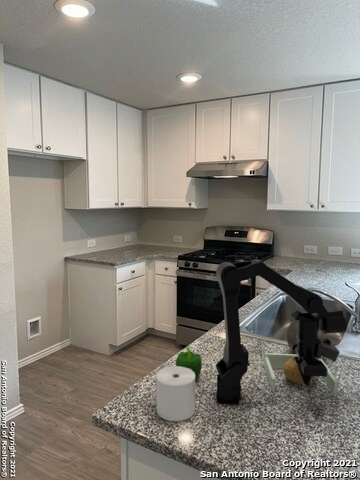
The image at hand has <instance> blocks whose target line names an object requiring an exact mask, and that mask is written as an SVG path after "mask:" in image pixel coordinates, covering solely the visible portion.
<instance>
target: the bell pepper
mask: <svg viewBox="0 0 360 480" xmlns="http://www.w3.org/2000/svg"><path fill="white" fill-rule="evenodd" d="M185 349H186V352H183V351H181V352H179V353H178V355H177V357H176V359H175V366H180V367H185V368H189V369H191V370H192V371H193V372H194V373H195V382H196V381H197V380H198V379H199V378H200V375H201V371H202V366H203V364H202V363H203V362H202V357H201V354H199V353H195V352H193V351H191V348H190V346H186V347H185Z"/></svg>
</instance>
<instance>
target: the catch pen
mask: <svg viewBox="0 0 360 480" xmlns="http://www.w3.org/2000/svg"><path fill="white" fill-rule="evenodd" d="M296 355H297V354H294V353H271V352H264V361H263V362H264V363H263V364H264V365H263V367H264V370H265V373H266V377H267V380H268V383H269V386H270V387H269V388H270V390H271V392H273V393H275V392H276V386H277V385H276V382H277V381H276V376H275V374H274V371H273V369H275V370H278V369H279V370H283V367H284V364H285V362H286V361H287V360H289V359H290V358H292V357H294V356H296ZM317 359H318V360H321V361H322V362H323V363H324V365H325V366H326V368H327V369H328V374H327V376H326V377H322V380H323V381H324V382H325V383H326V385H327V388H328V389H330V392H331V393H332V395H333V396H338V392H339V391H338V389H339V382H338V380H337V379H336V377H335V376H334V374H333V373H332V372H331V370H330V369H329V368H328V366H327V365H326V363H325V362H324V360H323V356H321V358H317Z"/></svg>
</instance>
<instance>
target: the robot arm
mask: <svg viewBox="0 0 360 480" xmlns="http://www.w3.org/2000/svg"><path fill="white" fill-rule="evenodd" d="M215 273H216V278H217V281H218V284H219V288H220V292H221V294H222V302H223V303H222V304H223V315H224V317H223V318H224V330H225V343H224V347H223V354H222V358H221V359H220V360H219V361H218V362H217V363H216V364H215V368H216V370H217V373H218V374H216V390H215V391H216V393H215V394H216V397H215V398H216V401H215V403H216V404H224V405H225V404H226V405H240V400H241V398H242V383H241V381H242V379H243V376H245V374H247V372H248V370H249V369H248V368H249V367H251V365H250V362H249V355H250V353H249V350H248V349H247V347H246V345H244V343H242V341H241V326H240V325H241V324H240V314H239V313H240V311H239V297H238V296H239V293H240V289H241V283H242V282H243V281H244V282H245V281H248V280H250V279H253V278H255V277H261V278H262V279H263V280H265V281H266V282H268V283H270V284H272V286H274V287H275V288H277V289H279V290H280V291H282V292H283V293H285V294H286V295H287V296H288V297H289V298H290V299H291V300H292V301H293V302H294V303H295V304H296V305H297V306H298V307H300V308H301V309H303V311H304V312H301V310H298V309H296V310H295V311H294V312H293V313H291V314H290V317H291V319H293V320H294V319H295V320H298V334H296V338H297V340H293V341H292V342H291V343H290V347H289V348H290V349H289V350H290V351H291V353H293V352H294V349H295V350H296V353H297V357H294V358H295V361H296V363H297V366H298V369H299V371H300V374H301V377H302V379H303V382H304V386H309V384H310V382H311V381H312V380H311V377H312V376H315V377H322V378H323V377H326V376H327V374H328V369H329V368H328V369H327V368H326V366H327V365H326V366H325V365H324V363H325V362H324V361H323V362H324V363H323V362H322V361H321V360H318V359H317V358H321V356H322V358H326V359H328V360H331V361H332V362H337V359H338V357H339V355H340V352H341V351H340V349H338V348H337V347H336V346H334V344H332V341H331V340H330V339H329V338H328V337H327V338H325V337H324V338H323V339H322V340H320V339H319V338H318V333H319V329H320V330H321V331H322V332H323V333H326V334H344V333H346V332H347V330H348V323H347V320H346V317H345V316H344V311H343V310H341V309H340V308H335V309H327V308H326V307H325V306H324V299H323V297H322V296H321V295H320V294H318V293H315V292H314V291H312V290H310V289H308V288H305V287H303V286H301V285H298V284H296V283H294V282H292V281H291V280H289V279H288V278H286V277H284V275H281V274H280V273H279V272H277V271H275V270H274V269H272V268H271V267H270V266H269V265H266V263H265V262H263V261H262V260H260V259H251V260H248V261H247V260H245V261H236V262H233V263H232V262H229V261H224V262H221V263H220V264H218V266H217V267H216V271H215ZM310 380H311V381H310Z"/></svg>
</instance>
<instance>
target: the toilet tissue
mask: <svg viewBox="0 0 360 480" xmlns="http://www.w3.org/2000/svg"><path fill="white" fill-rule="evenodd" d="M155 380H156V381H155V382H156V383H155V393H156V395H155V398H156V403H155V407H156V408H155V409H156V413H157V415H158V416H159V417H160V418H161V419H164V420H165V421H169V422H182V421H183V422H184V421H186V420H188V419H190V418H191V417H193V415H194V414H195V411H196V381H195V373H194V372H193V371H192V370H191V369H189V368H185V367H180V366H176V365H175V366H172V365H171V366H167V367H165V363H164V362H163V363H162V364H161V365H160V366H159V367H158V369H157V371H156V377H155Z"/></svg>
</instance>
